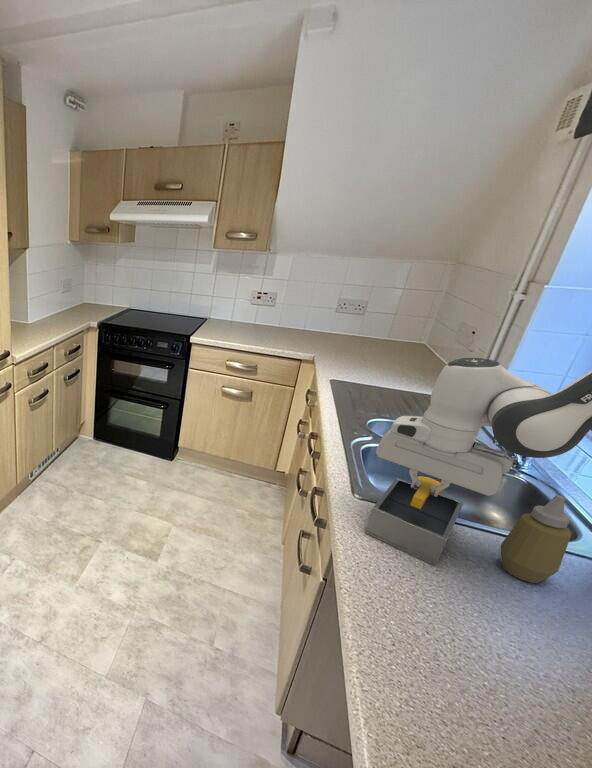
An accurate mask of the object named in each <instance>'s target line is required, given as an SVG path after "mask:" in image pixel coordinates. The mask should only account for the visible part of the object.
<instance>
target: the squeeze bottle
mask: <svg viewBox="0 0 592 768" xmlns="http://www.w3.org/2000/svg"><path fill="white" fill-rule="evenodd" d="M565 501H566V497H565V496H562V495H560V494H555V496H554V497H552V499H550V500H549V501H548V502H547V503H546V504H545V505H535V506H534V507H533V508H532V510H531V512H530V513H523V514H522V515H521V516H520V517H519V519H518V520H517V521H516V523H515V524H514V526H513V527H512V528H511V530H510V531H509V532H508V534H507V535H506V537H505V538H504V540H503V541H502V542H501V544H500V545H499V547H500V566H501V567H502V569H503V570H505V571H506V572H507V573H508V574H509V575H512V576H514V577H515V578H517V579H519V580H522V581H525V582H528V583H531V584H541V583H542V582H543V581H545V580H547V579H549V578H551V576H554V575H555V574H556V573H558V572H559V570H560V567H561V565H562V562H563V559H564V556H565V554H566V550H567V548H568V546H569V542H570V540H571V536H572V532H571V530H570V529H569V528H568V525H569V524H570V522H571V518H570V517H569V516H568V515H567V514H566V513H564V511H565V504H566V503H565Z"/></svg>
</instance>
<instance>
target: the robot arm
mask: <svg viewBox="0 0 592 768" xmlns="http://www.w3.org/2000/svg"><path fill="white" fill-rule="evenodd" d="M482 427H490V428H491V429H492V434H493V438H494V439H495V440H496V442H497V443H498V445H500V446H501V447H502V448H503V449H505V450H506V451H508V452H510V453H512V454H515V455H518V456H520V457H525V458H531V459H547V458H552V457H557V456H560V455H563V454H565V453H568V452H569V451H571V450H573V449H574V448H576V446H577V445H578V444H579V443H580V442H581V441H583V439H584V438H585V436H586V435H587V434H588V433H589V432H590V431H591V430H592V369H591V370H589V371H587V372H586V373H585V374H583V375H581V376H580V377H578V378H576V379H575V380H573V381H571V382H570V383H569V384H567V385H565V386H563V388H561V389H559V390H558V391H556V392H553V393H552V392H551V391H549V390H548V389H547V388H545V387H543V386H542V385H539V384H536V383H534V382H531V381H528V380H525V379H524V378H521V377H519V376H518V375H516V374H515V373H512V372H511V371H509V370H508V369H506V367H504V366H503V365H502V364H501V363H500V362H499V361H496V360H493V359H489V358H488V359H487V358H483V357H464V358H463V357H461V358H457V359H453V360H451V361H449V362H448V363H447V364H446V365H445V366H443V368H442V370H441V371H440V373H439V375H438V377H437V379H436V381H435V384H434V385H433V389H432V391H431V394H430V403H429V406H428V408H427V409H426V410H425V412H424V413H423V416H420V415H418V416H417V415H401V416H399V417H397V418H396V419H395V420H394V421H393V422H392V423H391V427H390V429H388V431H386V433H385V434H384V435H383V436H382V437H381V439H380V441H379V443H378V445H377V447H376V450H375V453H376V456H377V457H378V458H380V459H383V460H386V461H389V462H391V463H395V464H396V465H400V466H402V467H405V468H407V469H409V471H408V474H409V477H410V478H411V481H412V482H411V483H412V484H411V487H412V488H414V489H417V490H418V489H419V487H420V486H421V484H422V482H423V481H422V480H419V479H418V477H419V476H418V473H423V474H425V475H427V476H431V477H433V478H437V479H439V480H441V481H440V483H441V484H440V485H438V486H435V485H432V486H431V488H430V492H429V494H430V495H433V496H435V497H437V496H438V494H439V492H440V491H441V490H443V489H444V490H445V489H447V488H449V487H450V485H451V484H453V485H455V486H456V485H457V486H459V487H462V488H465V489H468V490H469V491H473V492H476V493H479V494H481V495H485V496H487V497H491V496H493V495H497V493H498V491H499V488H500V485H501V482H502V478H503V475H504V474H508V473H509V472H510V471H511V468H512V466H513V464H514V460H513V458H512V457H511V456H510V455H509V454H507V453H506V451H504V450H500V449H495V448H492V447H489V446H487V445H484V444H480V443H477V442H476V440H477V438H478V436H479V433H480V430H481V428H482ZM444 490H443V491H444Z"/></svg>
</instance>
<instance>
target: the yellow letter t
mask: <svg viewBox="0 0 592 768" xmlns="http://www.w3.org/2000/svg"><path fill="white" fill-rule="evenodd" d="M418 479H419V480H422V481H423V482H422V484H421V486H420V487H419V489H418V490H417V492H416V493H415V495H414V496H413V499H412V501H411V504H410V505H411V506H413V507H416V508H418V509H421V508H422V506H423V504H424V503H425V501H426V500H427V498H428V496H429V495H430V494H429V492H430V488H431V486H432V485H435V486H438V485H440V484H441V481H438V480H436V479H434V478H431V477H427V476H423V475H421V476H418ZM444 490H445V489H443V490H441V491H440V492H439V494H438V495H440V494H443V492H444Z"/></svg>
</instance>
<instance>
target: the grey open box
mask: <svg viewBox="0 0 592 768" xmlns="http://www.w3.org/2000/svg"><path fill="white" fill-rule="evenodd" d="M411 484H412V482H410V481H408V480H406V479H402V478H399V477H396V478H395V479H394V480H393V482H391V484H390V485H389V486H388V487H387V489H386V490H385V492H384V493H383V494H382V495H381V497H380V498H379V499H378V501H377V502H376V503H375V504H374V506H373V507H372V509H371V512H370V515H369V518H368V521H367V524H366V527H365V530H364V534H365V535H367V536H370V537H372V538H374V539H375V540H378V541H381V542H383V543H385V544H387V545H389V546H391V547H392V548H396V549H397V550H399V551H402V552H404V553H406V554H407V555H409V556H412V557H415V558H416V559H418V560H421V561H423V562H424V563H427V564H429V565H431V566H433V567H436V566H437V564H438V562H439V560H440V557H441V555H442V553H443V552H444V549H445V546H446V544H447V542H448V540H449V537H450V535H451V533H452V531H453V529H454V526H455V524H456V522H457V519H458V517H459V515H460V513H461V510H462V509H463V506H464V503H465V502H464V501H461V500H458V499H457V498H453V497H450V496H448V495H446V494H443V493H442V494H440V495H438V496H437V497H435V496H433V495H429V496H428V498H427V500H426V501H425V503H424V504H423V506H422V508H421V509H418V508H416V507H413V506H411V505H410V504H411V501H412V499H413V496H414V495H415V493H416V492H417V489H414V488H412V487H411Z"/></svg>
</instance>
